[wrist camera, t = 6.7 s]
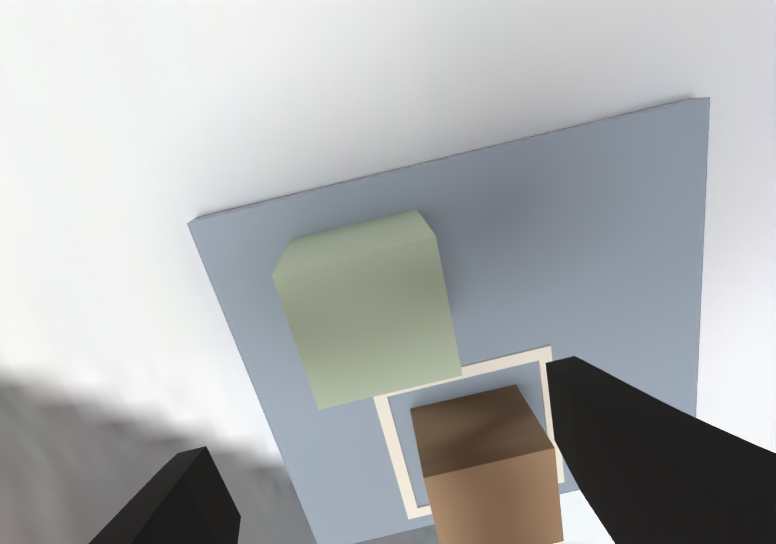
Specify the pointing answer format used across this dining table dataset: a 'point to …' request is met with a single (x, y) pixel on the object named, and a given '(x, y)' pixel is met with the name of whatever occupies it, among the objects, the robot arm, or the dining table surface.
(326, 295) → the sage block
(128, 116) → the dining table surface
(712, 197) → the dining table surface
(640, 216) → the board
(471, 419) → the walnut block
